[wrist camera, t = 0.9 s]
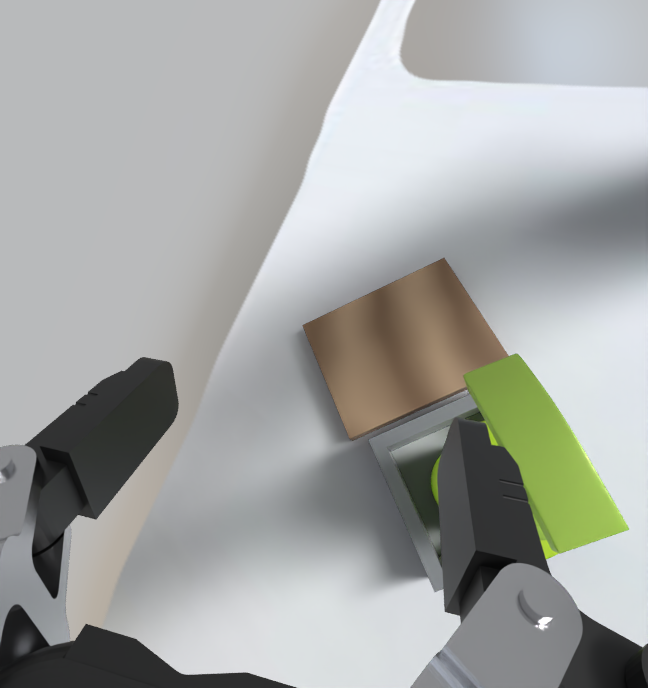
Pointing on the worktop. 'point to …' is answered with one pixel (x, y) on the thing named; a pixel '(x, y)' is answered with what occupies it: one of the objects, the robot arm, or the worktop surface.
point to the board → (401, 348)
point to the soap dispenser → (542, 457)
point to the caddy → (397, 486)
